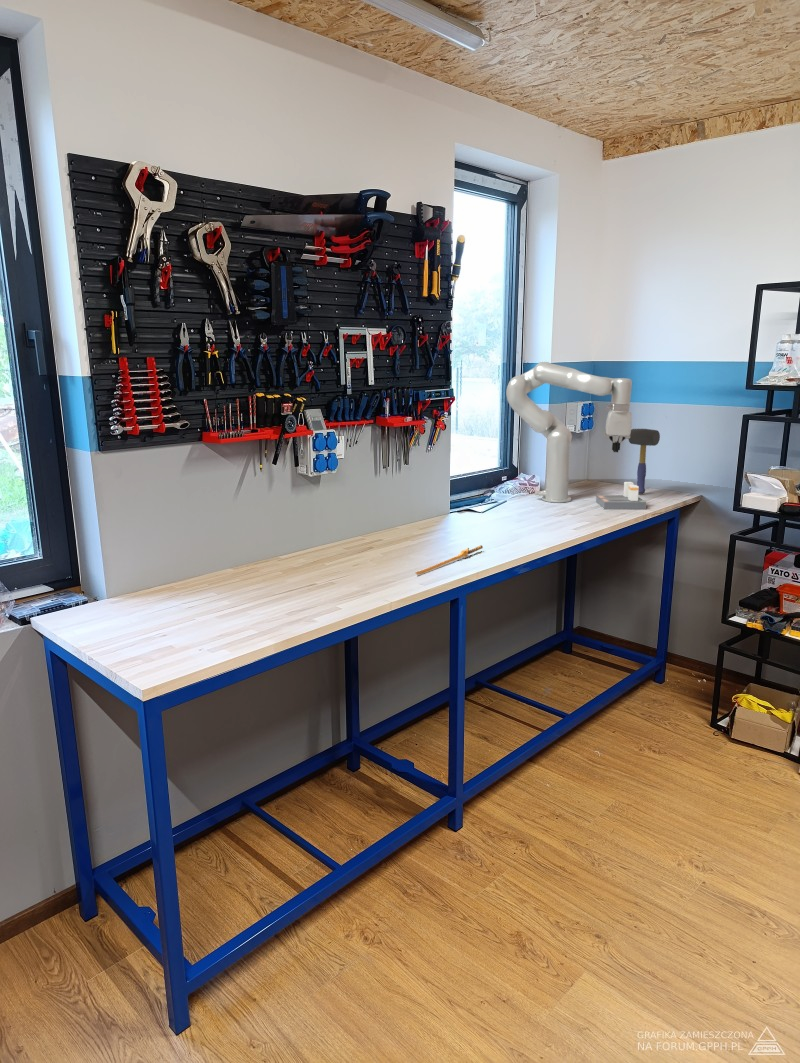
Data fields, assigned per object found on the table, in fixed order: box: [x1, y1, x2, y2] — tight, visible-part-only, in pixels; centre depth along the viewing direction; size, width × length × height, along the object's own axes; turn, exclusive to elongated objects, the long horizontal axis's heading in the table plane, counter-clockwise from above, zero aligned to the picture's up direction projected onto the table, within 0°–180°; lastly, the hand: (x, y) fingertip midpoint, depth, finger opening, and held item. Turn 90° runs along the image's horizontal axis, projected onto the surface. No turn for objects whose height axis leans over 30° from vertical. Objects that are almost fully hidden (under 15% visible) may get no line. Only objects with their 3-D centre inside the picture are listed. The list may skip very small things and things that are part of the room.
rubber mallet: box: [628, 428, 661, 496], centre depth 326 cm, size 12×8×30 cm, turn 46°
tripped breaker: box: [628, 484, 639, 501], centre depth 300 cm, size 3×4×6 cm
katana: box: [415, 545, 484, 577], centre depth 221 cm, size 1×35×3 cm, turn 141°
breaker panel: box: [595, 481, 647, 510], centre depth 304 cm, size 17×16×9 cm
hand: (615, 451), depth 306 cm, fingers closed
